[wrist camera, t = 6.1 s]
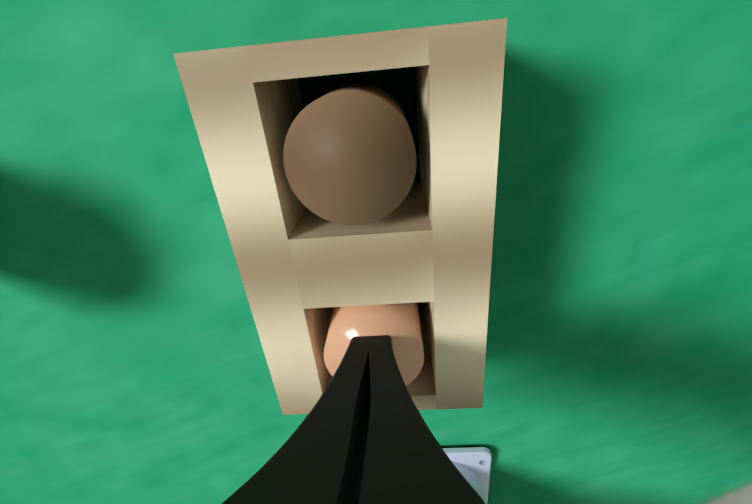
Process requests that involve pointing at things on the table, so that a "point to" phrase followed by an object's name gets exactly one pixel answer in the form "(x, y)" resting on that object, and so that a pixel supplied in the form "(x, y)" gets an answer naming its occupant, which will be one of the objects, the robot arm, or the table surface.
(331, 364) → the terracotta peg
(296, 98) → the maple block
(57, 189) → the table surface
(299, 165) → the walnut peg
